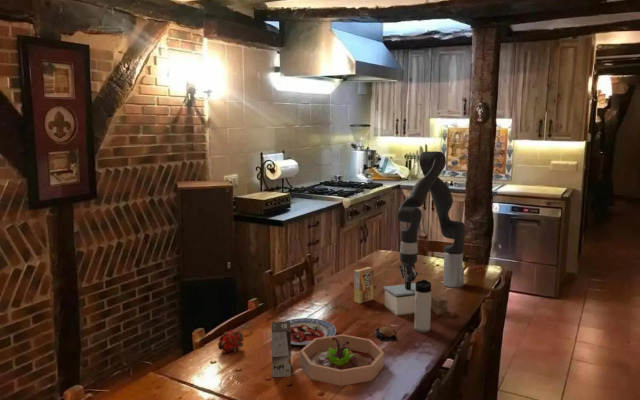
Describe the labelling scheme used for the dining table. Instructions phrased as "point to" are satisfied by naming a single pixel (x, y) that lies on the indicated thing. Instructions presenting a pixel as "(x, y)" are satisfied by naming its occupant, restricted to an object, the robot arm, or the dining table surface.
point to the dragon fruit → (230, 341)
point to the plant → (340, 357)
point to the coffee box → (281, 349)
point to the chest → (400, 303)
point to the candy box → (363, 285)
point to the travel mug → (422, 306)
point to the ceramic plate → (309, 330)
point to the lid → (401, 289)
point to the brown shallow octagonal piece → (347, 374)
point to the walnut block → (439, 305)
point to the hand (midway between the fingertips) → (407, 289)
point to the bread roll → (385, 334)
